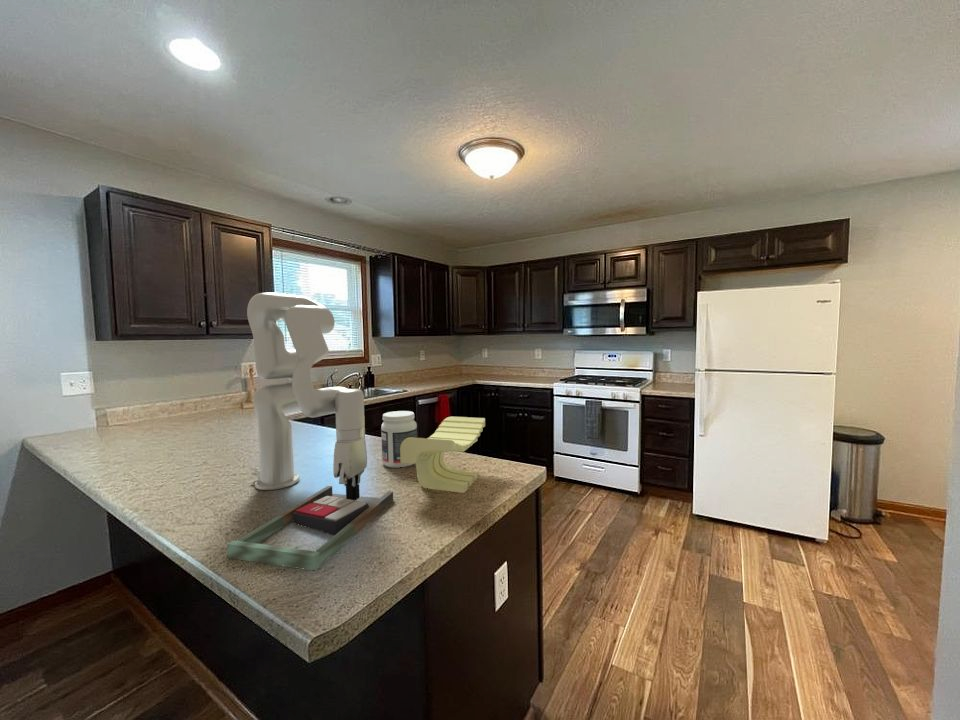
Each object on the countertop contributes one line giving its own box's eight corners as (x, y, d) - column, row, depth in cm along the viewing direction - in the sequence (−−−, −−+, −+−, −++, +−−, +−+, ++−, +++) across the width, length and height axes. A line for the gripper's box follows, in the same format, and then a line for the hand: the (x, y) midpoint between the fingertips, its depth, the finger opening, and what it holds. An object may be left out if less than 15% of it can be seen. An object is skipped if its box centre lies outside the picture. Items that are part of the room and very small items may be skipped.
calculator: (327, 493, 106) (368, 500, 99) (328, 509, 106) (370, 517, 99) (291, 509, 96) (335, 518, 89) (293, 527, 96) (336, 537, 89)
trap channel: (227, 557, 81) (227, 543, 81) (327, 494, 114) (327, 484, 114) (314, 570, 76) (314, 556, 76) (393, 500, 109) (393, 490, 109)
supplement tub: (423, 459, 146) (422, 410, 145) (409, 470, 134) (408, 417, 133) (391, 457, 149) (390, 409, 148) (375, 468, 137) (373, 416, 136)
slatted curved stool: (443, 464, 139) (442, 415, 138) (485, 469, 134) (485, 418, 133) (401, 497, 110) (399, 436, 109) (453, 504, 106) (452, 440, 105)
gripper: (353, 427, 115) (355, 487, 116) (321, 440, 100) (324, 509, 101) (376, 428, 113) (378, 489, 114) (347, 441, 99) (349, 511, 100)
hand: (352, 498), depth 108 cm, fingers closed
